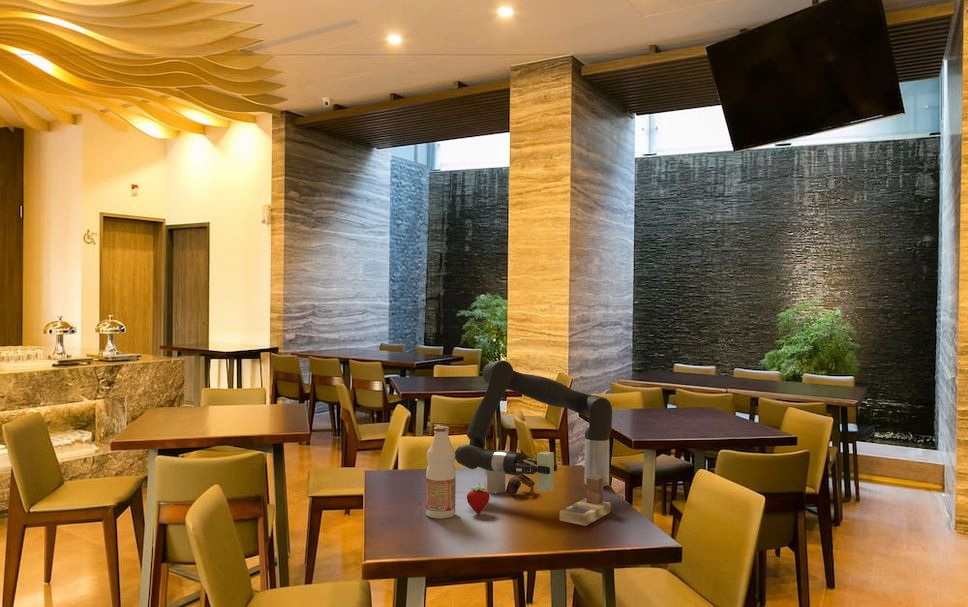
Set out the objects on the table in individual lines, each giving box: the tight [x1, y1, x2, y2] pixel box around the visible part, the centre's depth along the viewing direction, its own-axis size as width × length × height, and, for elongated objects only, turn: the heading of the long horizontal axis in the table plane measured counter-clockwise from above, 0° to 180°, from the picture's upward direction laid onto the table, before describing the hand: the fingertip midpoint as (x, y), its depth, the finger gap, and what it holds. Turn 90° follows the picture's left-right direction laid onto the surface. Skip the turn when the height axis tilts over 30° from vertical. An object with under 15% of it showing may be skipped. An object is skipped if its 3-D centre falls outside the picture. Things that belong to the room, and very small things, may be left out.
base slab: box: [559, 476, 612, 527], centre depth 219 cm, size 18×9×11 cm, turn 145°
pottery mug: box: [505, 474, 536, 496], centre depth 244 cm, size 12×10×8 cm
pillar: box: [536, 450, 555, 493], centre depth 221 cm, size 4×4×12 cm
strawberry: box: [466, 481, 490, 515], centre depth 220 cm, size 6×8×10 cm
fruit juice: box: [425, 425, 457, 520], centre depth 219 cm, size 9×9×28 cm
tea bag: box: [484, 469, 506, 494], centre depth 248 cm, size 4×7×10 cm, turn 106°
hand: (553, 469), depth 220 cm, fingers closed on pillar, 4 cm apart
